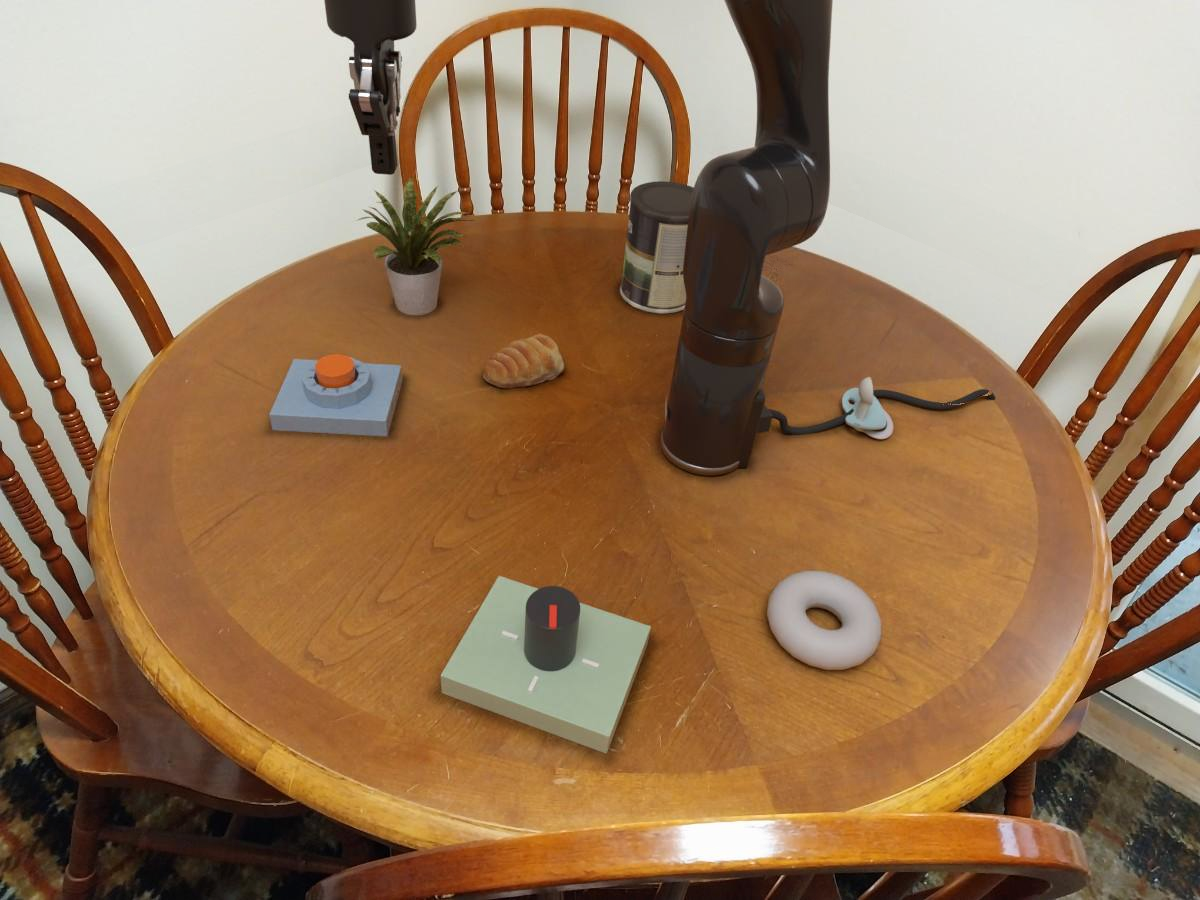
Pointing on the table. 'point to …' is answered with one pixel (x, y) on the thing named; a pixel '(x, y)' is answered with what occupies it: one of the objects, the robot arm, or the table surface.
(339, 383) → the button
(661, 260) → the coffee can
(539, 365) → the pastry
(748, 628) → the table surface
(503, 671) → the dial panel
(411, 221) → the house plant
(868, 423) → the pacifier
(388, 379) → the button block
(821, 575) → the donut
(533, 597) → the program dial
